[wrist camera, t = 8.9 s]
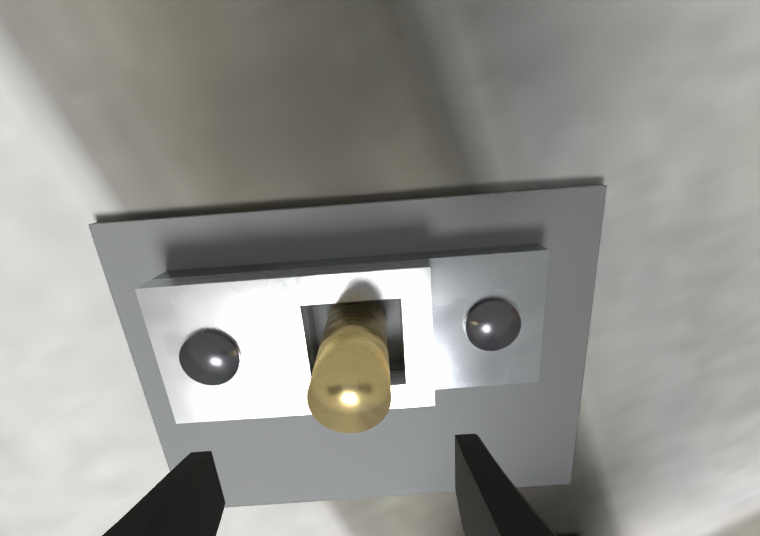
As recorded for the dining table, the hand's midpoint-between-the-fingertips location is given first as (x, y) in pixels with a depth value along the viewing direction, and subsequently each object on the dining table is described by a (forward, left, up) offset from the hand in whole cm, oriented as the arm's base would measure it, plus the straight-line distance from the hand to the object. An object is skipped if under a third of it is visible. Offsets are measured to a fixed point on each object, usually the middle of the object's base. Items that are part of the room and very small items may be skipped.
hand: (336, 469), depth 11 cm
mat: (0, +2, -9) cm, 9 cm away
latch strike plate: (0, -1, -9) cm, 9 cm away
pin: (0, -1, -8) cm, 8 cm away
